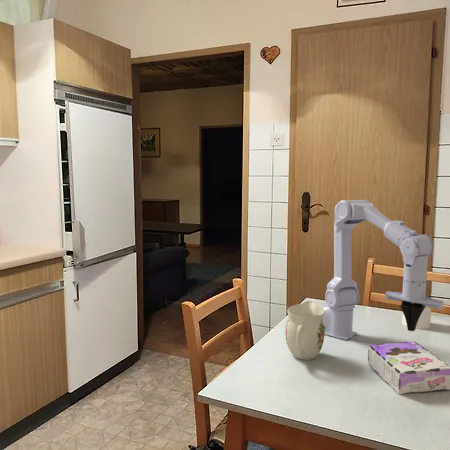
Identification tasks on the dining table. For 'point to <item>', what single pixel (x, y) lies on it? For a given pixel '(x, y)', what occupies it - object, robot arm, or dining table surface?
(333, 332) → the robot arm
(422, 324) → the base with upright slab
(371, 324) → the dining table surface
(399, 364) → the candy box
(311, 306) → the pitcher
